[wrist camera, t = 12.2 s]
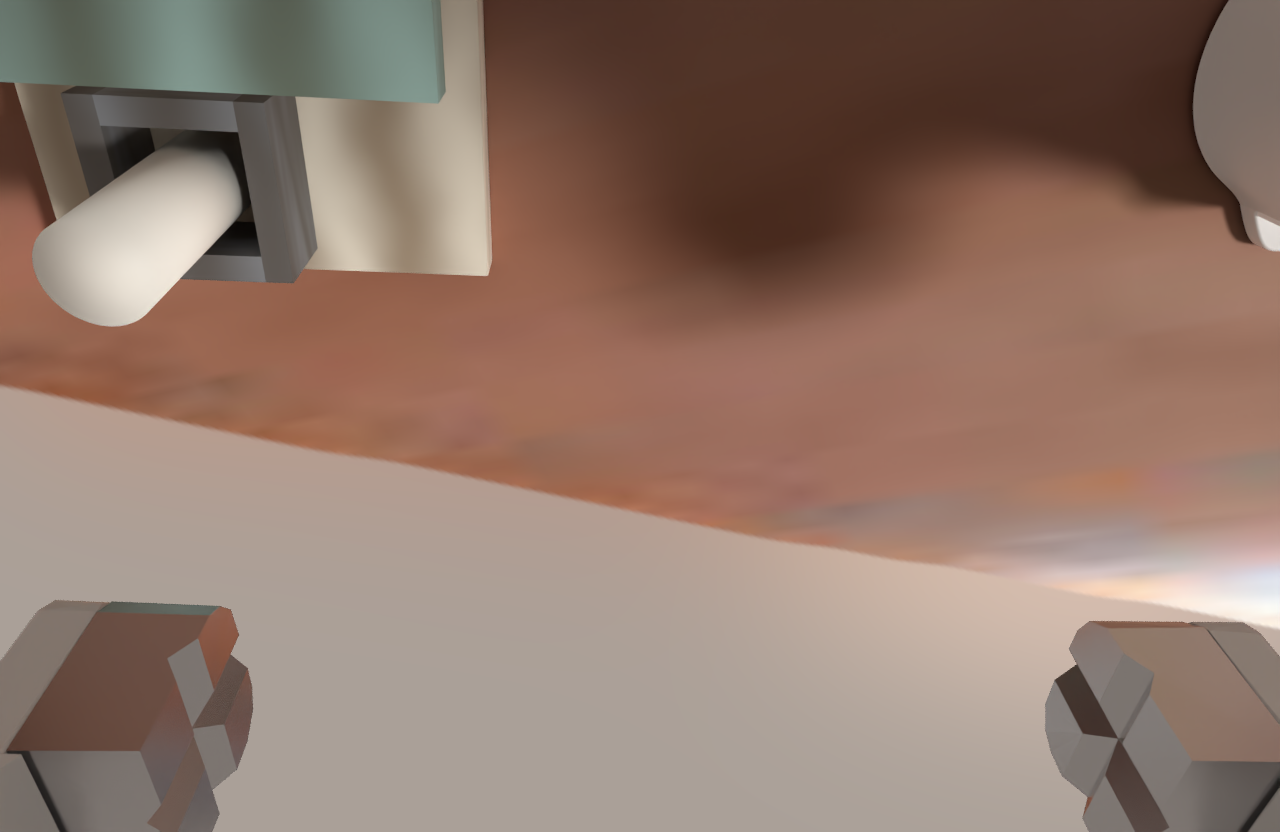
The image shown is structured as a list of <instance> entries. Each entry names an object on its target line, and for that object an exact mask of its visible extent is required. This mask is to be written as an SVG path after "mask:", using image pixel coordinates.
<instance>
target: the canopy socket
mask: <svg viewBox="0 0 1280 832" xmlns="http://www.w3.org/2000/svg"><path fill="white" fill-rule="evenodd" d="M0 82H12V83H14V84H15V87H16V90H17V94H18V97H19V100H20V103H21V107H22V110H23V113H24V116H25V119H26V123H27V126H28V129H29V132H30V136H31V139H32V142H33V145H34V149H35V152H36V155H37V158H38V161H39V165H40V168H41V171H42V174H43V178H44V181H45V184H46V187H47V190H48V194H49V197H50V200H51V203H52V207H53V210H54V213H55V216H56V220H58V219H60V218H61V217H62V216H64V215H65V214H67V213H68V212H69V211H71V210H72V209H74V208H75V207H77V206H78V205H79V204H81V203H82V202H84V201H85V200H86V199H88V198H89V197H91V196H92V195H94V194H95V193H96V192H98V191H99V190H101V189H102V188H103V187H105V186H106V185H108V184H109V183H111V182H112V181H113V180H115V179H116V178H118V177H119V176H121V175H122V174H123V173H125V172H126V171H128V170H129V169H130V168H132V167H133V166H135V165H136V164H138V163H139V162H140V161H142V160H143V159H145V158H146V157H147V156H149V155H150V154H152V153H153V152H155V151H156V150H157V149H159V148H160V147H162V146H163V145H164V144H166V143H167V142H169V141H170V140H172V139H173V138H174V137H176V136H177V135H179V134H180V133H181V132H183V131H184V130H204V131H225V132H238V134H239V139H240V145H241V150H242V155H243V161H244V166H245V172H246V177H247V182H248V188H249V193H250V199H251V205H250V206H249V207H248V208H247V209H246V210H245V211H244V212H243V213H242V214H241V215H240V216H239V218H238V219H237V220H236V221H235V222H234V223H233V224H232V225H231V226H230V227H229V228H228V229H227V230H226V231H225V232H224V233H223V234H222V235H221V236H220V237H219V238H218V240H217V241H216V242H215V243H214V244H213V245H212V246H211V247H210V248H209V249H208V250H207V251H206V252H205V253H204V254H203V255H202V256H201V257H200V258H199V259H198V260H197V261H196V263H195V264H194V265H193V266H192V267H191V268H190V269H189V270H188V271H187V272H186V273H185V274H184V275H183V276H182V277H181V278H180V279H194V280H220V281H247V282H273V283H294V282H295V280H296V279H297V278H298V276H299V275H300V273H301V272H302V270H303V269H321V270H347V271H373V272H398V273H424V274H450V275H476V276H488V274H489V270H490V266H491V262H492V241H491V213H490V185H489V157H488V128H487V100H486V72H485V44H484V15H483V0H0Z"/></svg>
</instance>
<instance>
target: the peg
mask: <svg viewBox="0 0 1280 832" xmlns="http://www.w3.org/2000/svg"><path fill="white" fill-rule="evenodd" d="M250 205H251V199H250V193H249V188H248V182H247V177H246V172H245V166H244V161H243V155H242V150H241V145H240V139H239V134H238V132H225V131H204V130H184V131H183V132H181V133H180V134H179V135H177V136H176V137H174V138H173V139H172V140H170V141H169V142H167V143H166V144H164V145H163V146H162V147H160V148H159V149H157V150H156V151H155V152H153V153H152V154H150V155H149V156H147V157H146V158H145V159H143V160H142V161H140V162H139V163H138V164H136V165H135V166H133V167H132V168H130V169H129V170H128V171H126V172H125V173H123V174H122V175H121V176H119V177H118V178H116V179H115V180H113V181H112V182H111V183H109V184H108V185H106V186H105V187H103V188H102V189H101V190H99V191H98V192H96V193H95V194H94V195H92V196H91V197H89V198H88V199H86V200H85V201H84V202H82V203H81V204H79V205H78V206H77V207H75V208H74V209H72V210H71V211H69V212H68V213H67V214H65V215H64V216H62V217H61V218H60V219H58V220H57V221H55V222H54V223H52V224H51V225H50V226H48V227H47V228H45V229H44V230H43V231H42V232H41V233H40V234H39V236H38V237H37V239H36V241H35V244H34V247H33V252H32V261H33V267H34V271H35V274H36V276H37V279H38V281H39V282H40V284H41V286H42V287H43V289H44V290H45V292H46V293H47V294H48V295H49V297H50V298H51V299H52V300H53V301H54V302H55V303H56V304H58V305H59V306H60V307H61V308H63V309H64V310H65V311H67V312H68V313H70V314H71V315H73V316H75V317H77V318H79V319H82V320H84V321H86V322H90V323H93V324H97V325H102V326H122V325H127V324H131V323H133V322H135V321H138V320H139V319H141V318H142V317H143V316H145V315H146V314H147V313H148V312H149V311H150V310H151V309H152V308H153V306H154V305H155V304H156V303H157V302H158V301H159V300H160V299H161V298H162V297H163V296H164V295H165V294H166V293H167V292H168V291H169V290H170V289H171V288H172V287H173V286H174V284H175V283H176V282H177V281H178V280H179V279H180V278H181V277H182V276H183V275H184V274H185V273H186V272H187V271H188V270H189V269H190V268H191V267H192V266H193V265H194V264H195V263H196V261H197V260H198V259H199V258H200V257H201V256H202V255H203V254H204V253H205V252H206V251H207V250H208V249H209V248H210V247H211V246H212V245H213V244H214V243H215V242H216V241H217V240H218V238H219V237H220V236H221V235H222V234H223V233H224V232H225V231H226V230H227V229H228V228H229V227H230V226H231V225H232V224H233V223H234V222H235V221H236V220H237V219H238V218H239V216H240V215H241V214H242V213H243V212H244V211H245V210H246V209H247V208H248V207H249V206H250Z"/></svg>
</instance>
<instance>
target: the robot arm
mask: <svg viewBox="0 0 1280 832" xmlns="http://www.w3.org/2000/svg"><path fill="white" fill-rule="evenodd" d="M1193 118H1194V128H1195V133H1196V138H1197V141H1198V145H1199V147H1200V150H1201V152H1202V155H1203V157H1204V159H1205V161H1206V162H1207V164H1208V166H1209V167H1210V169H1211V170H1212V171H1213V173H1214V174H1215V175H1216V176H1217V177H1218V178H1219V179H1220V180H1221V181H1222V182H1223V183H1224V184H1225V185H1226V186H1227V187H1228V188H1229V189H1230V190H1231V191H1232V193H1233V194H1234V195H1235V196H1236V198H1237V199H1238V201H1239V203H1240V208H1241V213H1242V218H1243V223H1244V226H1245V230H1246V233H1247V235H1248V237H1249V239H1250V240H1251V241H1252V243H1254V244H1255V245H1257V246H1260V247H1262V248H1264V249H1267V250H1270V251H1280V0H1229V1H1228V2H1227V4H1226V6H1225V7H1224V9H1223V11H1222V12H1221V14H1220V16H1219V18H1218V20H1217V22H1216V24H1215V26H1214V28H1213V30H1212V32H1211V34H1210V36H1209V39H1208V41H1207V44H1206V46H1205V49H1204V52H1203V55H1202V58H1201V61H1200V65H1199V68H1198V72H1197V77H1196V82H1195V89H1194V99H1193ZM238 636H239V633H238V630H237V627H236V624H235V621H234V618H233V614H232V611H231V610H230V609H227V608H224V607H221V606H205V605H204V606H203V605H181V604H157V603H133V602H111V603H109V602H86V601H62V600H55V601H53V602H52V603H50V604H48V605H46V606H45V607H43V608H41V609H40V610H39V611H37V613H35V615H34V616H33V617H32V619H31V620H30V621H29V623H28V624H27V625H26V627H25V628H24V630H23V631H22V632H21V634H20V635H19V636H18V638H17V639H16V640H15V642H14V643H13V644H12V646H11V647H10V648H9V650H8V651H7V653H6V654H5V655H4V657H3V658H2V659H1V661H0V832H212V831H213V829H214V826H215V824H216V821H217V819H218V816H219V810H218V807H217V804H216V801H215V797H214V794H213V791H212V790H213V789H214V788H215V787H216V786H218V785H219V784H220V783H221V782H222V781H223V780H225V779H226V778H227V777H228V776H230V774H232V773H233V772H234V771H235V770H237V768H238V765H239V763H240V760H241V757H242V755H243V752H244V749H245V746H246V744H247V741H248V735H249V730H250V724H251V718H252V713H253V696H252V684H251V680H250V676H249V671H248V668H247V667H245V666H244V665H243V664H242V663H240V662H239V661H238V660H237V659H235V658H234V657H233V656H232V655H231V652H232V650H233V647H234V645H235V643H236V641H237V638H238ZM1069 650H1070V652H1071V654H1072V656H1073V658H1074V660H1075V662H1076V663H1077V665H1075V666H1074V667H1072V668H1071V669H1070V670H1068V671H1067V672H1065V673H1064V674H1063V675H1061V676H1060V677H1058V678H1057V679H1055V681H1054V683H1053V686H1052V688H1051V691H1050V693H1049V696H1048V698H1047V701H1046V704H1045V707H1046V708H1045V709H1046V711H1045V712H1046V714H1045V718H1046V719H1045V720H1046V721H1045V722H1046V723H1045V731H1046V735H1047V739H1048V742H1049V746H1050V750H1051V753H1052V756H1053V758H1054V759H1055V762H1056V764H1057V766H1058V769H1059V771H1060V773H1061V775H1062V776H1063V777H1064V778H1065V779H1066V780H1067V781H1069V782H1070V783H1071V784H1073V785H1074V786H1075V787H1076V788H1077V789H1079V790H1080V791H1081V792H1082V793H1083V794H1085V795H1086V796H1087V802H1086V806H1085V810H1084V814H1083V820H1084V822H1085V824H1086V827H1087V829H1088V831H1089V832H1280V656H1279V655H1278V654H1277V653H1276V652H1275V650H1274V649H1273V648H1272V647H1271V646H1270V644H1269V643H1268V642H1267V641H1266V639H1265V638H1264V637H1263V636H1262V635H1261V634H1260V633H1259V632H1258V631H1256V630H1255V629H1253V628H1251V627H1250V626H1248V625H1247V624H1245V623H1243V622H1191V623H1184V622H1130V621H1128V622H1127V621H1126V622H1125V621H1121V622H1120V621H1119V622H1118V621H1089V622H1088V623H1087V624H1085V625H1084V626H1083V627H1081V628H1080V629H1079V630H1078V631H1077V633H1076V635H1075V637H1074V639H1073V641H1072V643H1071V645H1070V647H1069Z"/></svg>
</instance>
